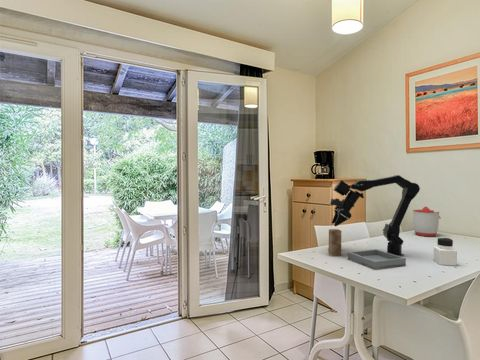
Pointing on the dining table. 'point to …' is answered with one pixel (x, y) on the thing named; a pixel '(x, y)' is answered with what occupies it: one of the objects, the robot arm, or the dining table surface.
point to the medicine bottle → (445, 252)
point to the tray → (376, 259)
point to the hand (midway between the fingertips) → (333, 224)
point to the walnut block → (335, 242)
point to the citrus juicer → (426, 222)
